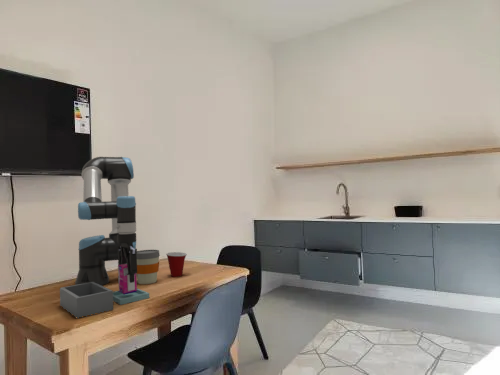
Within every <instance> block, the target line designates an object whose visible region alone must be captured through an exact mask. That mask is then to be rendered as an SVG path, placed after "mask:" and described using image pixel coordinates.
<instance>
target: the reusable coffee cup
mask: <svg viewBox="0 0 500 375" xmlns="http://www.w3.org/2000/svg"><path fill="white" fill-rule="evenodd" d="M136 255H137V273H136V279H137V284H138V285H149V284H154V283H157V279H158V272H159V268H160V256H161V255H160V250H159V249H142V250H137V254H136Z"/></svg>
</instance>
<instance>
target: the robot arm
mask: <svg viewBox="0 0 500 375" xmlns="http://www.w3.org/2000/svg"><path fill="white" fill-rule="evenodd" d="M81 178H82V180H83V195H82V196H83V200H82V201H80V202H79V203H78V204H77V216H78V220H81V221H82V220H84V221H87V220H88V221H90V220H92V221H93V220H104V219H105V220H108V219H109V220H110V219H111V231H110V232H109V233H108V237H105V235H104V234H101V235H100V234H99V235H93V236H89V237H84V238H81V239H80V240H79V242H78V271H77V276H76V277H75V282H74V285H78V284H83V283H89V282H95V283H97V284H99V285H101V286H103V285H107V284H108V283H109V282H110V277H109V274H108V271H107V269H106V262H110V261H117V266H118V265H121V264H127V267H128V274H127V284H128V291H131V290H135V275H134V274H135V273H137V255H136V254H137V251H138V249H137V233H136V232H137V220H136V217H137V215H136V208H137V203H136V197H135V196H133V195H129V184H131V182H132V180H133V179H134V178H135V175H134V166H133V162H132V160H131V158H129V157H123V156H97V157H94V158H92V159H90V160H88V161H87V162H86V163H85V164H84V165H83V167H82V169H81ZM103 179H104V180H107V183H108V184H109V185H110V197H111V198H110V201H103V199H102V180H103Z"/></svg>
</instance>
